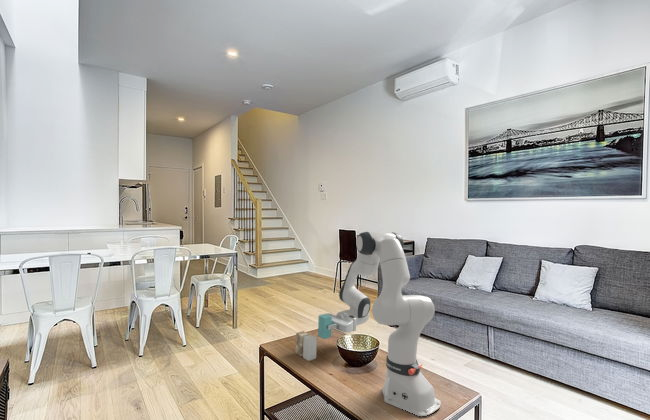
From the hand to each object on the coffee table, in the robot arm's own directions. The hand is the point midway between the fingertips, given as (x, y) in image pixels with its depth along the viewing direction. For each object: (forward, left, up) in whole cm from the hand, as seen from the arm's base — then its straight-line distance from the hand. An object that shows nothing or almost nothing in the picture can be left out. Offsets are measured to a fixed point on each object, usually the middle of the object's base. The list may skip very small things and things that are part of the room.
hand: (323, 325), depth 162 cm
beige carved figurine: (+9, +6, -15) cm, 19 cm away
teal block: (0, -1, -6) cm, 6 cm away
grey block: (+3, +6, -15) cm, 17 cm away
